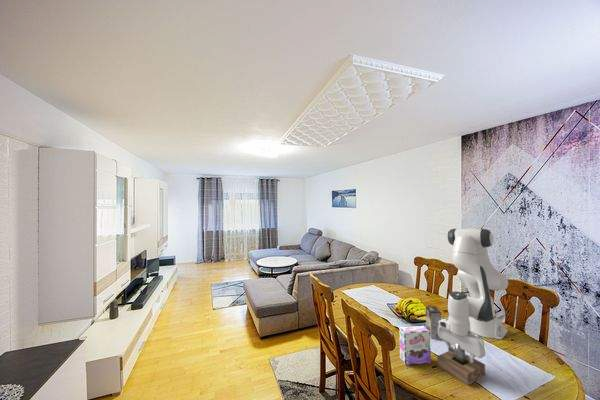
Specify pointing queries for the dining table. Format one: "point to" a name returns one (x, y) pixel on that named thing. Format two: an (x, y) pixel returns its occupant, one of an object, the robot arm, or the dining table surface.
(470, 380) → the socket block
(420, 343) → the candy box
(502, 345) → the dining table surface
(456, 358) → the pin
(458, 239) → the robot arm
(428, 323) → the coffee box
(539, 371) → the dining table surface
